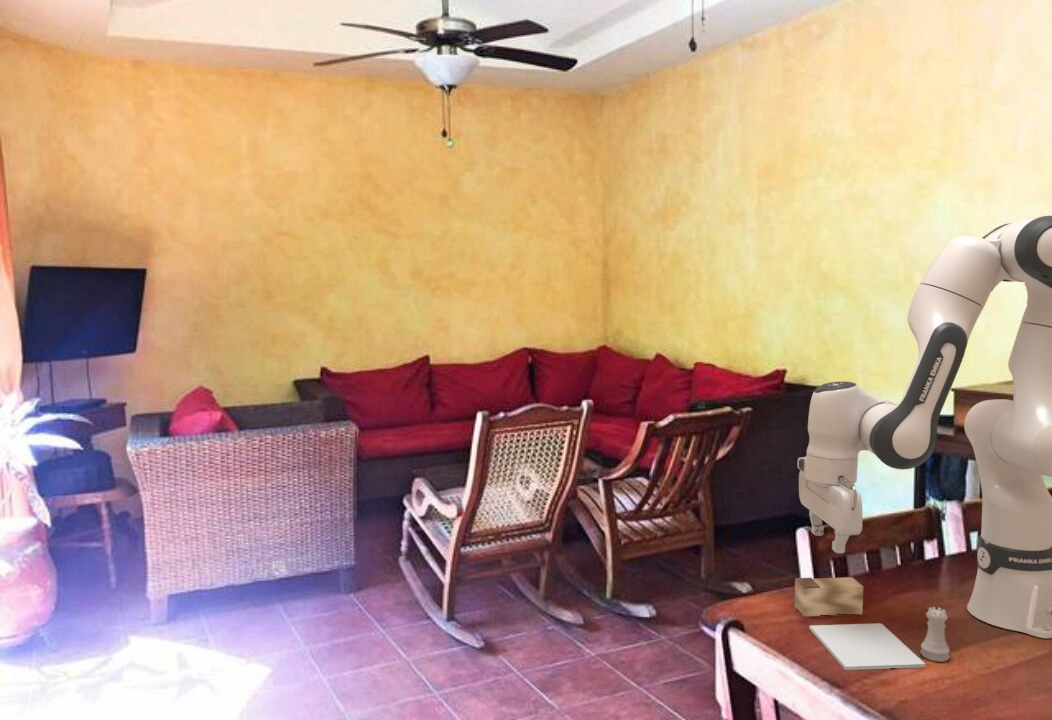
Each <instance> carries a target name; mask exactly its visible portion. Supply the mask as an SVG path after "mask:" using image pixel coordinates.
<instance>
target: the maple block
mask: <svg viewBox="0 0 1052 720" xmlns="http://www.w3.org/2000/svg"><path fill="white" fill-rule="evenodd" d="M794 579H795V581H794V608H795V609H798V610H799V611H800V612H801V613H802V614H801V613H800V612H799V611H798V610H797V611H798V612H799V613H800V614H801V615H802V616H803V617H821V616H820V615H831V616H838V615H837V614H860V615H863V610H864V609H863V608H864V607H863V605H864V604H863V603H864V586H863V584H861V583H860V582H859V581H857V580H856V579H855V578H854V577H852V576H851V577H849V576H847V577H826V578H825V577H824V578H821V577H820V578H819V577H818V578H813V577H795V578H794Z"/></svg>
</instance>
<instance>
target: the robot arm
mask: <svg viewBox="0 0 1052 720" xmlns="http://www.w3.org/2000/svg"><path fill="white" fill-rule="evenodd" d="M1001 282H1007V283H1009V282H1011V283H1013V282H1014V283H1015V282H1017V283H1024V286H1025V288H1026V289H1025V290H1026V293H1027V294H1026V295H1027V297H1026V298H1027V299H1026V307H1025V310H1024V312H1023V314H1022V318H1021V320H1020V323H1019V324H1020V325H1019V327H1018V331H1017V333H1016V336H1015V339H1014V343H1013V346H1012V348H1011V349H1012V350H1011V352H1010V355H1009V358H1008V371H1009V373H1010V375H1011V377H1012V381H1013V382H1012V383H1013V399H1007V398H1006V399H1003V398H1002V399H1001V398H1000V399H999V398H998V399H988V400H987V399H986V400H981V401H979V402H977V403H975V405H973V406H972V407H971V408H970V409H969V410H968V412H966V416H965V418H964V424H963V425H964V426H963V427H964V429H963V430H964V432H965V435H966V437H967V439H968V440H969V442H970V444H971V446H972V449H973V452H974V456H975V461H976V465H977V470H978V475H979V480H980V487H981V495H982V497H981V498H982V504H981V505H982V506H981V510H982V511H981V527H980V528H981V531H980V532H981V533H980V534H979V535H978V538H977V551H976V552H977V553H976V559H977V573H976V577H975V580H974V581H975V582H974V587H973V590H972V592H971V596H970V598H969V602H968V603H967V605H966V608H967V611H968V612H969V614H971V616H974V618H976V619H978V620H980V621H982V622H985V623H986V624H990V625H992V626H995V627H999V628H1002V629H1006V630H1010V631H1015V632H1021V633H1025V634H1028V635H1030V636H1033V637H1036V638H1041V639H1052V495H1051V494H1050V492H1049V490H1048V488H1047V487H1046V484H1045V481H1044V480H1045V479H1044V478H1043V476H1047V477H1052V215H1043V216H1033V217H1025V218H1022V219H1019V220H1016V221H1014V222H1009V223H1005V224H1001V225H999V226H997V227H995V228H994V229H992V230H990V231H989V232H987V234H985V235H983V236H982V237H980V236H977V235H969V234H967V235H964V234H963V235H959V236H956V237H954V238H951V239H950V240H949V241H947V242H946V243H945V245H944V246H943V247H942V248H941V250H940V251H939V252H938V253H937V255H936V256H935V258H934V259H933V261H932V263H931V264H930V266H929V267H928V269H927V270H926V272H925V274H924V276H923V277H922V279H921V281H920V282H919V285H918V287H917V289H916V291H915V293H914V294H913V297H912V299H911V303H910V305H909V308H908V309H909V310H908V314H907V316H906V317H907V323H908V327H909V329H910V331H911V333H912V335H913V336H914V338H915V340H916V342H917V346H918V356H917V361H916V364H915V367H914V369H913V372H912V374H911V376H910V378H909V380H908V383H907V385H906V388H905V390H904V392H903V395H902V396H901V399H900V401H899V402H898V403H894V402H892V401H889V400H886V399H883V398H881V397H878V396H876V395H873V394H872V393H870V392H868V391H866V390H864V389H863V388H861V387H860V386H858V384H857V383H856V382H852V381H832V382H827V383H823V384H821V385H819V386H818V387H815V389H814V391H813V393H812V395H811V399H810V404H809V410H808V419H807V421H808V422H807V432H808V436H809V439H808V446H807V447H806V456H803V457H798V459H797V463H796V464H797V465H796V466H797V469H798V470H800V471H799V473H798V494H799V495H798V497H799V500H800V503H801V505H803V506H804V507H805V508H807V509H808V510H809V513H808V514H809V520H810V523H811V533H812V534H813V535H815V537H816V536H817V537H818V536H819V537H821V536H823V535H824V534H825V533H824V531H825V530H824V528H825V526H823V521H824V522H825V523H826V524H827V525H829V526H830V527H831V528H832V529H833V530H834V534H835V538H834V540H832V541H831V542H832V543H831V550H833V552H834V553H836V554H844V553H845V552H846V544H847V542H848V540H849V538H850V536H858V535H860V534H861V532H862V531H863V501H862V496H861V494H860V492H859V491H858V490H856V488H855V484H856V483H857V480H858V479H857V478H858V464H859V463H858V460H859V454H860V452H861V451H869V452H870V453H872V454H874V455H875V456H876V458H878V460H879V461H881V462H882V463H883V464H885V465H886V466H887V467H889V468H892V469H896V470H911V469H914V468H916V467H919V466H921V465H923V464H924V463H926V461H928V459H930V457H931V455H932V454H933V452H934V450H935V448H936V445H937V439H938V437H937V436H938V425H939V424H938V423H939V419H940V416H941V412H942V409H943V407H944V405H945V403H946V400H947V398H948V396H949V393H950V391H951V389H952V386H953V383H954V381H955V380H956V377H957V375H958V372H959V369H960V367H961V366H962V362H963V359H964V357H965V353H966V349H967V346H968V343H969V339H970V337H971V335H972V332H973V330H974V327H975V326H976V323H977V321H978V320H979V317H980V316H981V313H982V311H983V310H984V307H985V305H986V303H987V302H988V299H989V297H990V295H991V292H993V291H994V289H995V288H996V287H997V286H998V285H999V284H1000V283H1001Z"/></svg>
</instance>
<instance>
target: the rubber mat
mask: <svg viewBox="0 0 1052 720" xmlns="http://www.w3.org/2000/svg"><path fill="white" fill-rule="evenodd" d="M808 628H809V630H810V632H811V633H812V634H813V635H814V636H815V637H816V638H817V640H818V641H819V642H820V643H821V644H822V645H823V646H824V647H825V649H826V650H827V651H828V653H830V654H831V655H832V657H833V658H834V659H835V660H836V661H837V663H839V665H840V666H841V667H842V668H843V670H845V671H859V670H861V671H863V670H864V671H865V670H866V671H867V670H868V671H869V670H889V669H890V668H897V669H914V668H915V669H920V668H922V669H923V668H926V663H925V662H924V661H923V660H922V659H921V658H920V657H918V656H917V655H916V654H915V653H914V652H913V651H912V650H911V649H910V648H909V647H908V646H907V645H905V644H904V643H903V642H902V640H900V639H899V638H898V637H897V636H895V634H894V633H892V631H890V630H889V629H888V628H887V627H886V626H885V625H884V624H882V623H879V622H877V623H850V624H846V623H845V624H817V625H816V624H815V625H809V627H808Z"/></svg>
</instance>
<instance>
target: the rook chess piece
mask: <svg viewBox="0 0 1052 720" xmlns="http://www.w3.org/2000/svg"><path fill="white" fill-rule="evenodd" d="M925 615H926V617H927V619H928V621H927V622H926V624H927V632H926V636H925V638H924V639H923V642H921V644H920V648H921V649H920V650H919V651H920V652H919V653H920V655H921V656H922V657H923V658H925V659H926V660H928V661H931V662H936V663H944V662H948V661H949V659H950V658H951V655H950V652H951V651H950V647H949V645H948V642H947V641H946V634H945V629H946V627H947V626H946V623H945V622H946V621H947V620H948V618H949V616H948V615H947V612H946V609H942V607H937V609H936V606H931V607H928V611H927V612H925Z"/></svg>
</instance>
